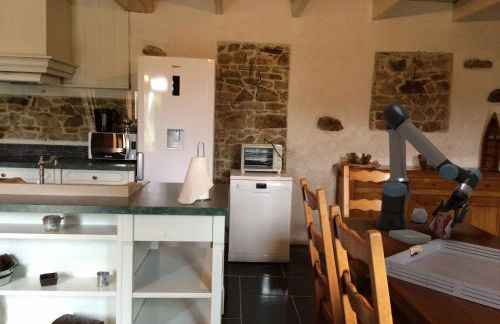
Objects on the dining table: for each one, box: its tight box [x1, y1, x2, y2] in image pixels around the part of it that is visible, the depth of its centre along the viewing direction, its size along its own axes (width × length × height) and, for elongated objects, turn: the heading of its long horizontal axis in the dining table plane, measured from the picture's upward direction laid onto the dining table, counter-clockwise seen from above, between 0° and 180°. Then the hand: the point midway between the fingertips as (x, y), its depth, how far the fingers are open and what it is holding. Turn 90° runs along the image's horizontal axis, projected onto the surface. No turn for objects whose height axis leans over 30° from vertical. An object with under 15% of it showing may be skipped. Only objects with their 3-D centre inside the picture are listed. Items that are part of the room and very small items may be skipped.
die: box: [410, 207, 429, 224], centre depth 218 cm, size 8×9×10 cm
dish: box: [388, 229, 432, 245], centre depth 177 cm, size 13×13×3 cm
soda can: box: [434, 212, 453, 240], centre depth 184 cm, size 7×7×12 cm
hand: (438, 230), depth 182 cm, fingers closed on soda can, 7 cm apart
